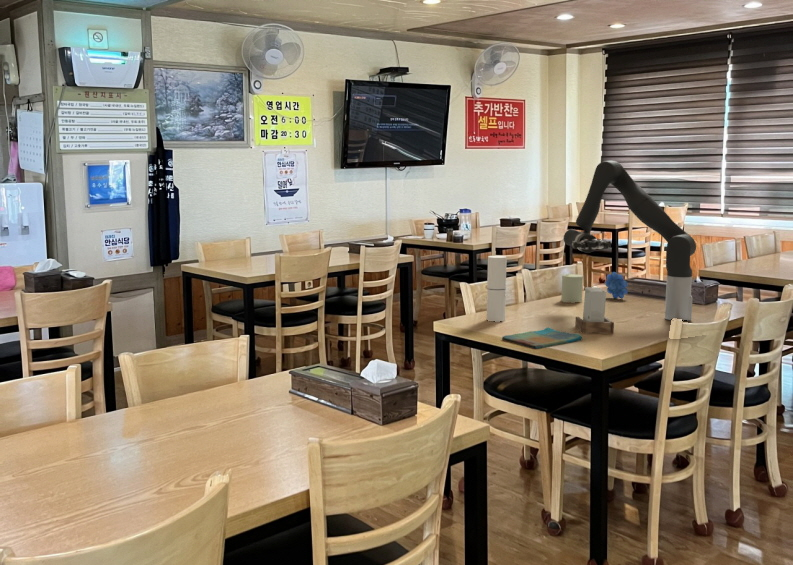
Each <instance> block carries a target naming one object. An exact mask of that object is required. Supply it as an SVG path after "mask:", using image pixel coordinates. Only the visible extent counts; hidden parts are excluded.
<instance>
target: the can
mask: <svg viewBox="0 0 793 565" xmlns="http://www.w3.org/2000/svg"><path fill="white" fill-rule="evenodd" d="M583 280H584V275H583V274H577V273H565V274H561V298H560V302H562V301H563V303H567V302H571V303H570V304H576V303H575V302H580V303H582V302H583V282H584V281H583Z"/></svg>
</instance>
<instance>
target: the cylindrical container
mask: <svg viewBox="0 0 793 565" xmlns="http://www.w3.org/2000/svg"><path fill="white" fill-rule="evenodd" d="M507 259H508V258H507V256H506V255H488V256H487V278H486V279H487V281H486V284H487V285H486V286H487V287H486V290H487V291H486V321H487V320H489V321H495V322H494V323H501V322H500V321H504V322H505V321H506V298H507V296H506V294H507V292H506V291H507V284H506V283H507ZM489 321H488V322H489Z"/></svg>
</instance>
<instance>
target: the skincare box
mask: <svg viewBox="0 0 793 565" xmlns="http://www.w3.org/2000/svg"><path fill="white" fill-rule="evenodd" d="M583 299H584V300H583V309H582V310H583V313H582V320H583V321H584V322H604V317H605V315H606V304H607V303H606V301H607V290H604V289H603V288H601V287H589V286H585V288H584V298H583Z"/></svg>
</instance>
